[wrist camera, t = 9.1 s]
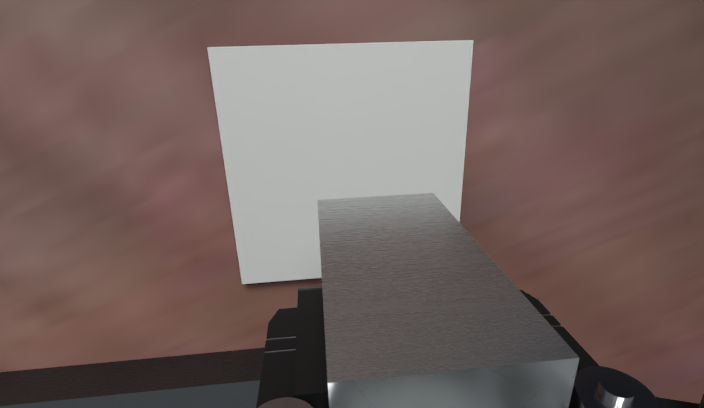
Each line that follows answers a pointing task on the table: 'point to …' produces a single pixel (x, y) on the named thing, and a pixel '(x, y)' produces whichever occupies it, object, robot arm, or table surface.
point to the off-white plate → (333, 137)
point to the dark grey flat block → (141, 383)
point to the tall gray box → (428, 314)
